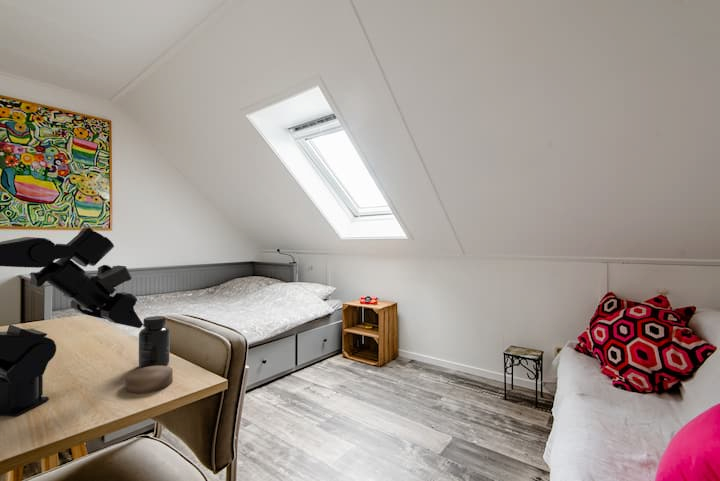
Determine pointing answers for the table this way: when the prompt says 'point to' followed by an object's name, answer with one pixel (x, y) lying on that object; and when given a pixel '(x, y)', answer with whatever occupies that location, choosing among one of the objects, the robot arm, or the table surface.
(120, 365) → the table surface
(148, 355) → the supplement bottle
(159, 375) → the walnut stand
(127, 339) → the table surface
